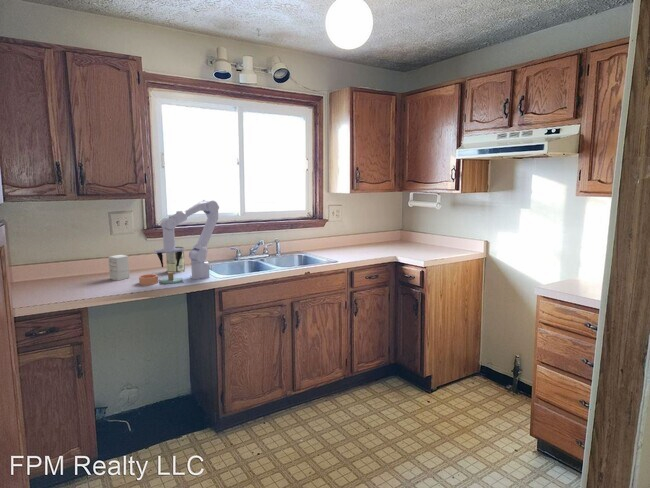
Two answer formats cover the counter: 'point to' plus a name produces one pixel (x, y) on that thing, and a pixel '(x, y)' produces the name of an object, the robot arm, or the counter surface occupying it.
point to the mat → (167, 284)
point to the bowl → (148, 279)
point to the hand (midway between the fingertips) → (170, 266)
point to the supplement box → (119, 267)
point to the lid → (170, 279)
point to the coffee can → (175, 262)
